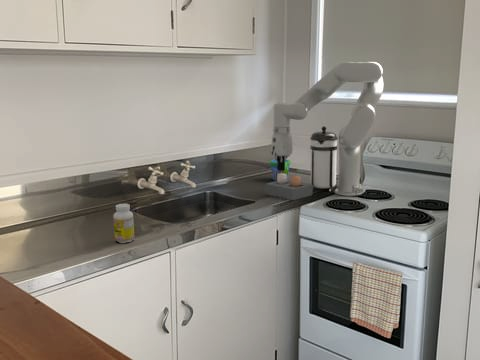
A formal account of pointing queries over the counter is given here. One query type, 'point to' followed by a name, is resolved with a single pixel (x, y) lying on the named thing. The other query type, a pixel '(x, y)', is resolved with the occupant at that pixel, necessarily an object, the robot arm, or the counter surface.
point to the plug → (282, 178)
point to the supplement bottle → (123, 222)
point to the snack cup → (275, 171)
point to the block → (289, 190)
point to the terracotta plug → (296, 181)
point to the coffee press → (323, 159)
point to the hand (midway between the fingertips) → (281, 170)
